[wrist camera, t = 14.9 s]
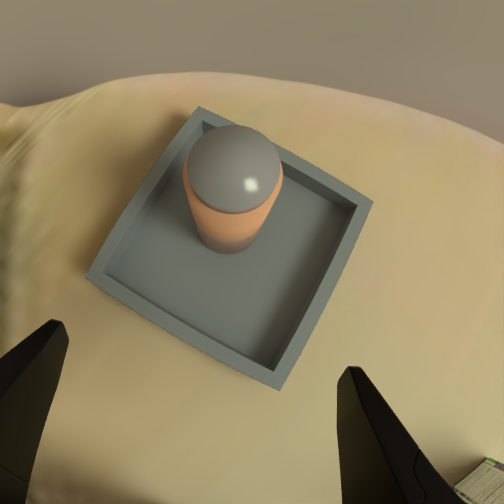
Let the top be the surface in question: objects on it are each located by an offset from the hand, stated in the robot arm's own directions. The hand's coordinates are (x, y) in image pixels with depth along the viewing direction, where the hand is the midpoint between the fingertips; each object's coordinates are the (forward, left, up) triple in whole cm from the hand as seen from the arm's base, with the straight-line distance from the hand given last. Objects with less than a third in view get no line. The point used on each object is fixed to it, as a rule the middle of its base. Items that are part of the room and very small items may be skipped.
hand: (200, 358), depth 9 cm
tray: (+6, +2, -14) cm, 15 cm away
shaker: (+7, +3, -13) cm, 15 cm away
